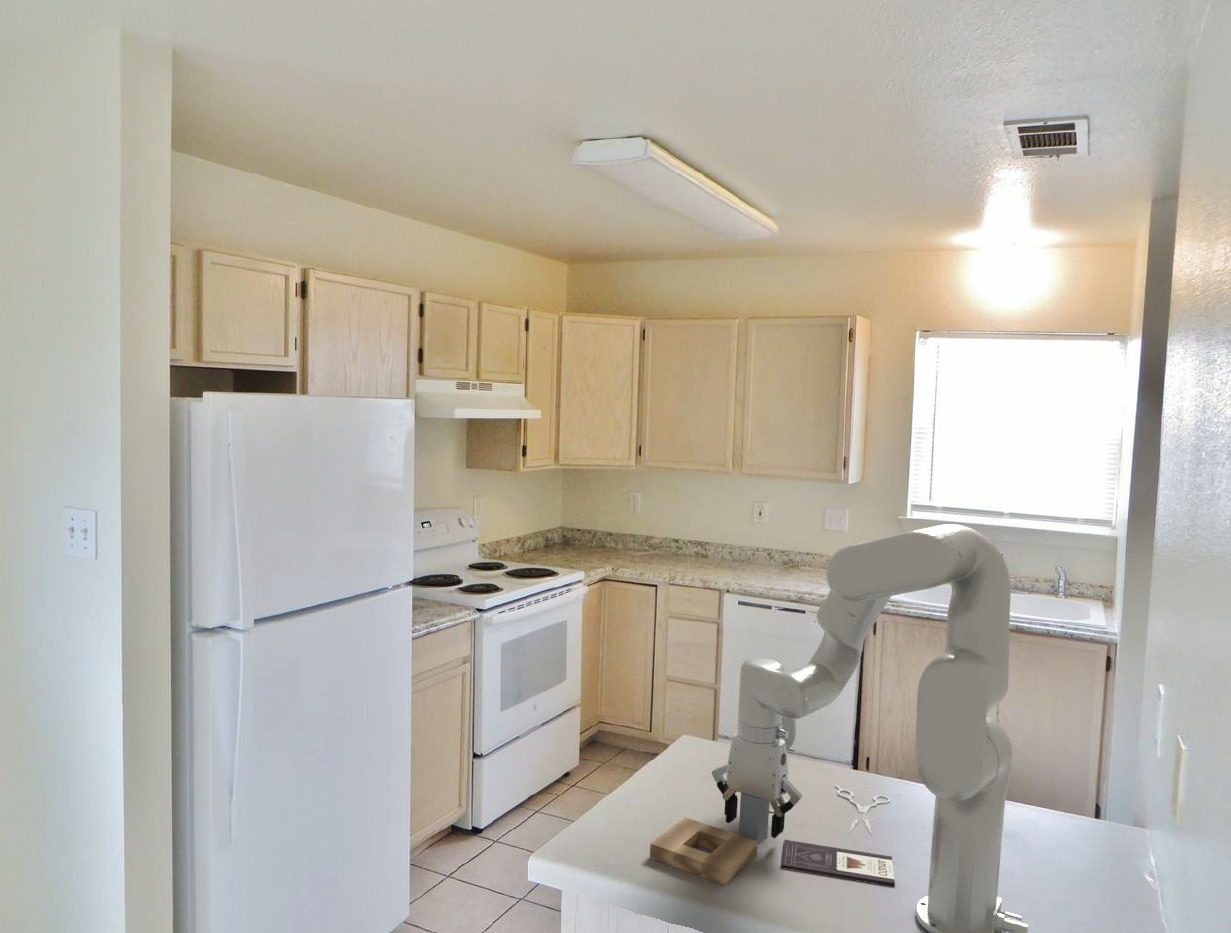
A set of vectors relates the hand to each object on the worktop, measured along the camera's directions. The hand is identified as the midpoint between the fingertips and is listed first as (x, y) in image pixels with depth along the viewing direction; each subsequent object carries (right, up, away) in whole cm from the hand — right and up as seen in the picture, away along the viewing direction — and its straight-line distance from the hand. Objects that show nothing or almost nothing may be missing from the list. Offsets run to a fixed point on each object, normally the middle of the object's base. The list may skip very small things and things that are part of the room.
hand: (753, 826), depth 157 cm
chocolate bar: (+13, -4, -7) cm, 15 cm away
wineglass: (+6, -2, +14) cm, 15 cm away
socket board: (-9, -2, -7) cm, 12 cm away
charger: (0, -2, 0) cm, 2 cm away
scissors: (+23, -3, +13) cm, 26 cm away
